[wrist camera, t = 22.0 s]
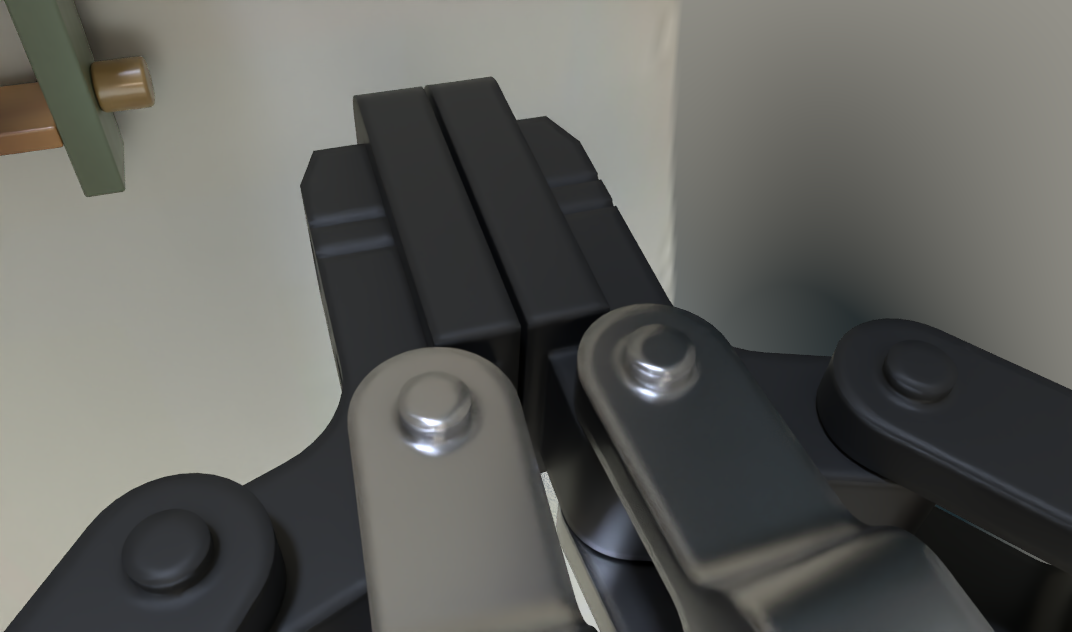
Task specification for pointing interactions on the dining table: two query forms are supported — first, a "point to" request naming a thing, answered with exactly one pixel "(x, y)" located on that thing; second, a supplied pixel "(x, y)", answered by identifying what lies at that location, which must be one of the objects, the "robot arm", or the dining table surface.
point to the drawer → (71, 95)
